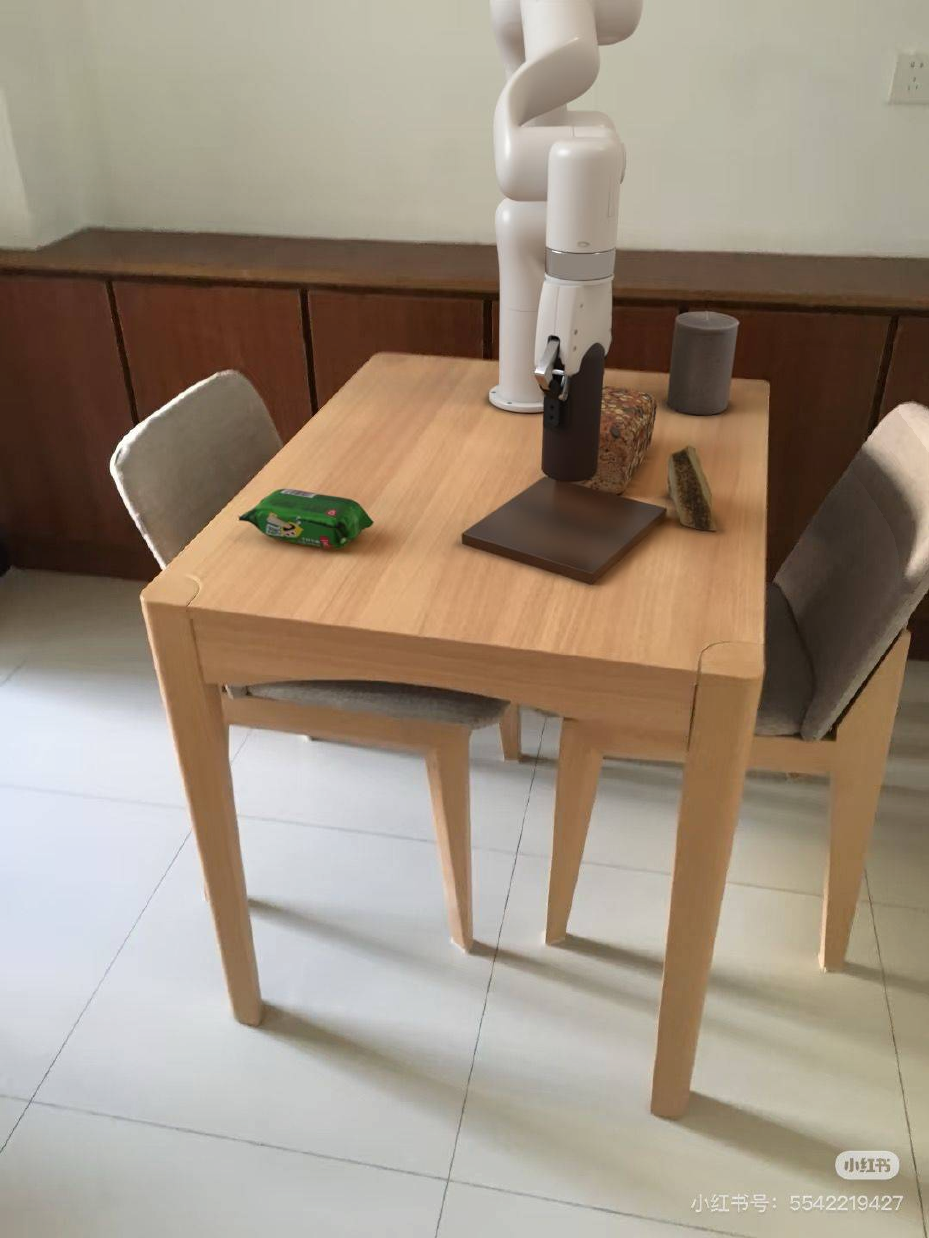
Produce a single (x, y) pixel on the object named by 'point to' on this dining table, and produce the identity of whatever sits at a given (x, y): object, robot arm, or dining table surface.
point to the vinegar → (577, 423)
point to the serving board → (565, 528)
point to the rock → (690, 489)
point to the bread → (622, 437)
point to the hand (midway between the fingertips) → (571, 418)
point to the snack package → (309, 518)
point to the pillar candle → (702, 362)
